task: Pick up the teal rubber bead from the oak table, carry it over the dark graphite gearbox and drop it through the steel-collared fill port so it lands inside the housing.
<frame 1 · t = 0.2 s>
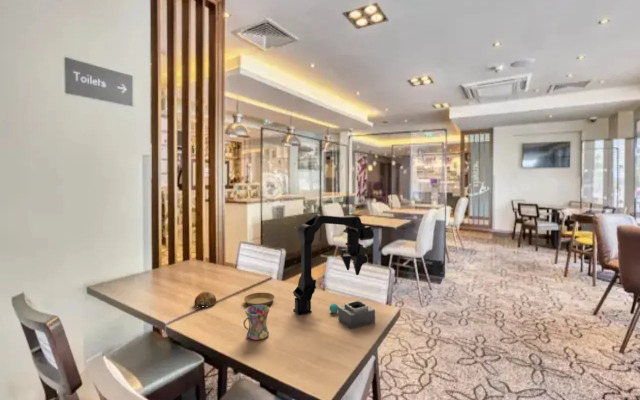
hand: (352, 272, 161), 14 cm above the table, fingers open, 9 cm apart
gearbox: (356, 320, 139), on the table
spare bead: (360, 310, 150), on the table
bead: (333, 312, 148), on the table
plant saucer: (259, 303, 161), on the table
bread roll: (205, 304, 159), on the table
mug: (255, 337, 126), on the table
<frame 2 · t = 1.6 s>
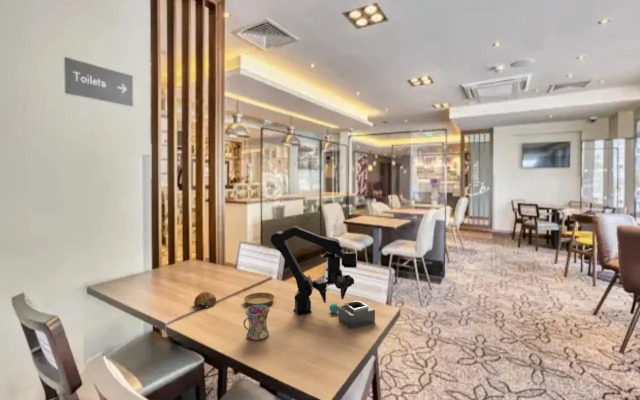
hand: (333, 300, 148), 5 cm above the table, fingers open, 9 cm apart
nothing on the table moved.
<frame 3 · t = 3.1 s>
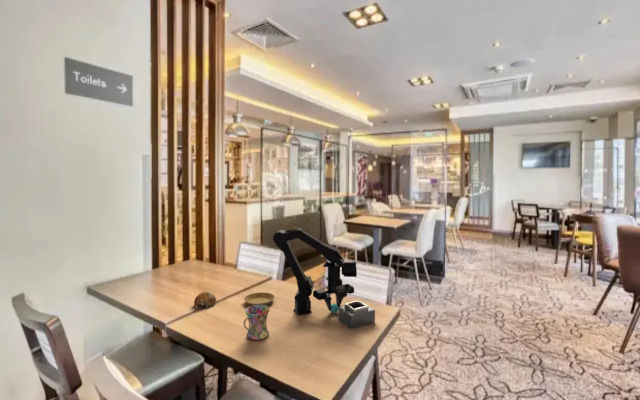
hand: (333, 309, 148), 1 cm above the table, fingers closed on bead, 4 cm apart
bead: (333, 312, 148), on the table, touching gripper
everything else where it was.
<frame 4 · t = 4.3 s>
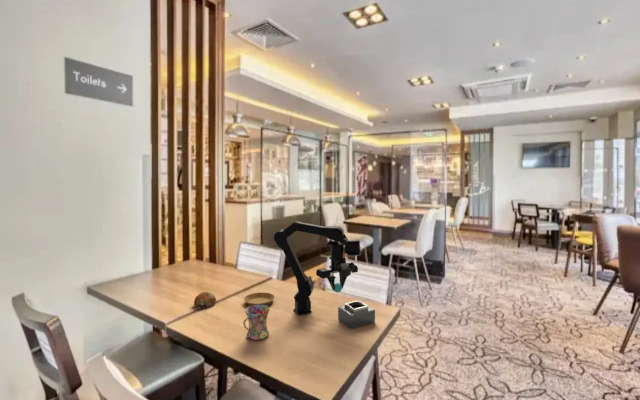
hand: (337, 289, 146), 11 cm above the table, fingers closed on bead, 4 cm apart
bead: (337, 292, 146), point 10 cm above the table, touching gripper
everything else where it was.
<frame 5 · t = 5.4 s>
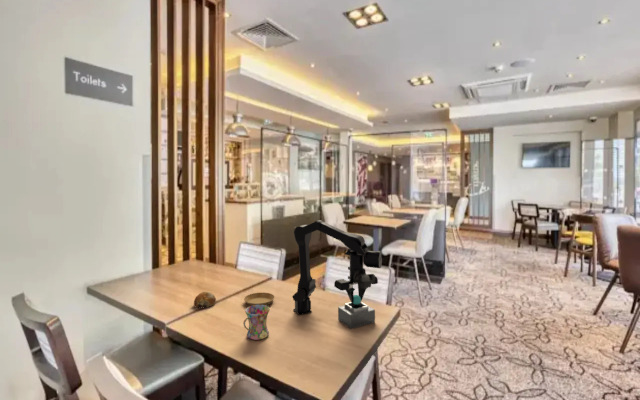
hand: (356, 301, 139), 8 cm above the table, fingers closed on bead, 4 cm apart
bead: (356, 304, 139), point 7 cm above the table, touching gripper
everything else where it was.
when the fingers open (8 cm above the table, at t = 5.8 s): bead drops 7 cm, resting on gearbox.
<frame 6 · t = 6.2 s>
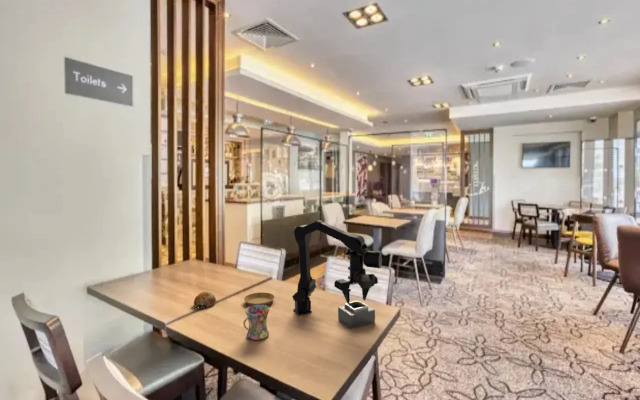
hand: (356, 301, 139), 8 cm above the table, fingers open, 8 cm apart
bead: (356, 319, 139), resting on gearbox
everything else where it was.
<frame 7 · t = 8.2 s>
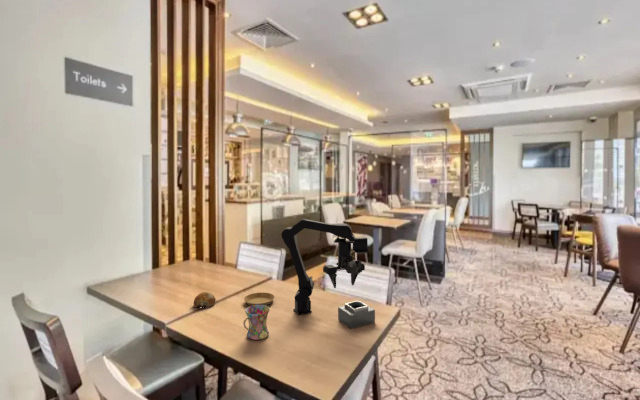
hand: (343, 286, 147), 12 cm above the table, fingers open, 9 cm apart
nothing on the table moved.
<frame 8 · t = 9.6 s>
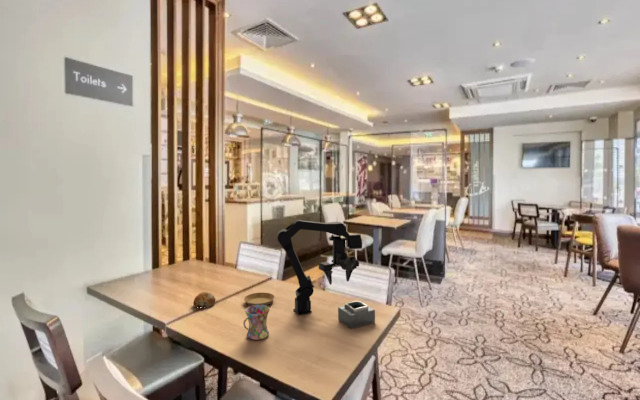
hand: (339, 282, 151), 13 cm above the table, fingers open, 9 cm apart
nothing on the table moved.
at the end: bead inside the target area on the gearbox (0.0 cm from its centre), point 0.5 cm above the gearbox's base; the gripper is holding nothing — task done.
